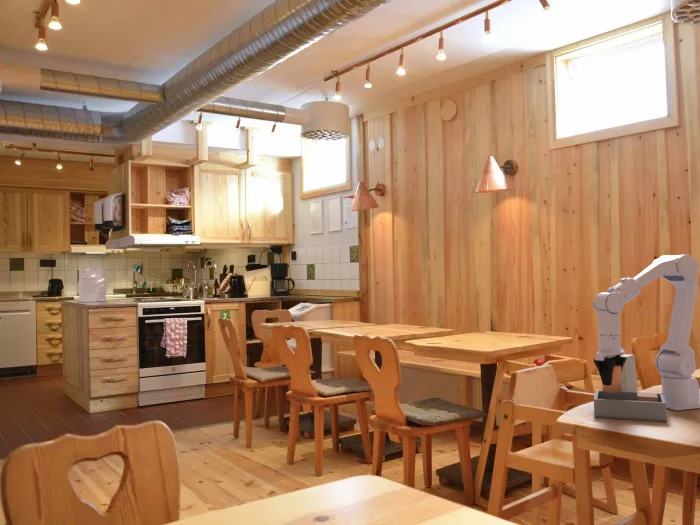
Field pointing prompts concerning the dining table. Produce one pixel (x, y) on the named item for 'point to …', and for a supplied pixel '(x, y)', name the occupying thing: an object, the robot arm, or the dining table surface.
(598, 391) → the tote
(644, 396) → the walnut block
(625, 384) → the skincare box
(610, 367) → the robot arm
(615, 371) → the terracotta cylinder
